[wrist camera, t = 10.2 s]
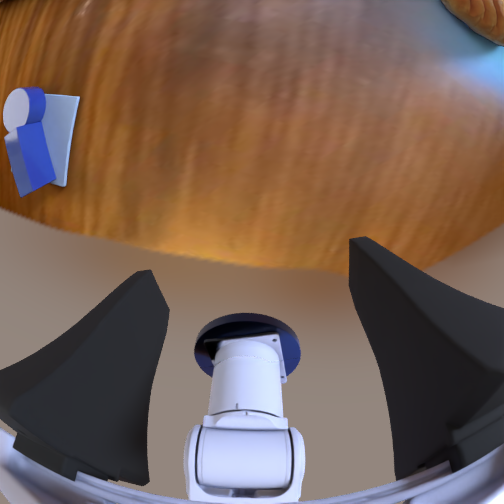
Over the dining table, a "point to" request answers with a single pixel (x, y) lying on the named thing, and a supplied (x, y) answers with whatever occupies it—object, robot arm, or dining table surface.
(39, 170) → the blue spoon
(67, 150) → the blue mat
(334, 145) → the dining table surface
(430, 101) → the dining table surface
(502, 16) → the pastry
